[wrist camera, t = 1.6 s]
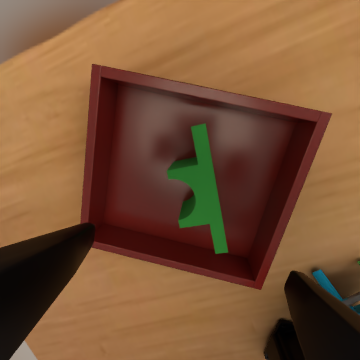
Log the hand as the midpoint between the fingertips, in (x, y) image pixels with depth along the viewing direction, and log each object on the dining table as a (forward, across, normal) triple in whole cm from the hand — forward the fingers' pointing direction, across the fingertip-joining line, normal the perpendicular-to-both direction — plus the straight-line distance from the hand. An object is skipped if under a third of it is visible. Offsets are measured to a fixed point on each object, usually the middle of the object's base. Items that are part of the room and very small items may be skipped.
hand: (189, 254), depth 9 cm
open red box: (+13, +1, 0) cm, 13 cm away
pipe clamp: (+12, 0, 0) cm, 12 cm away
